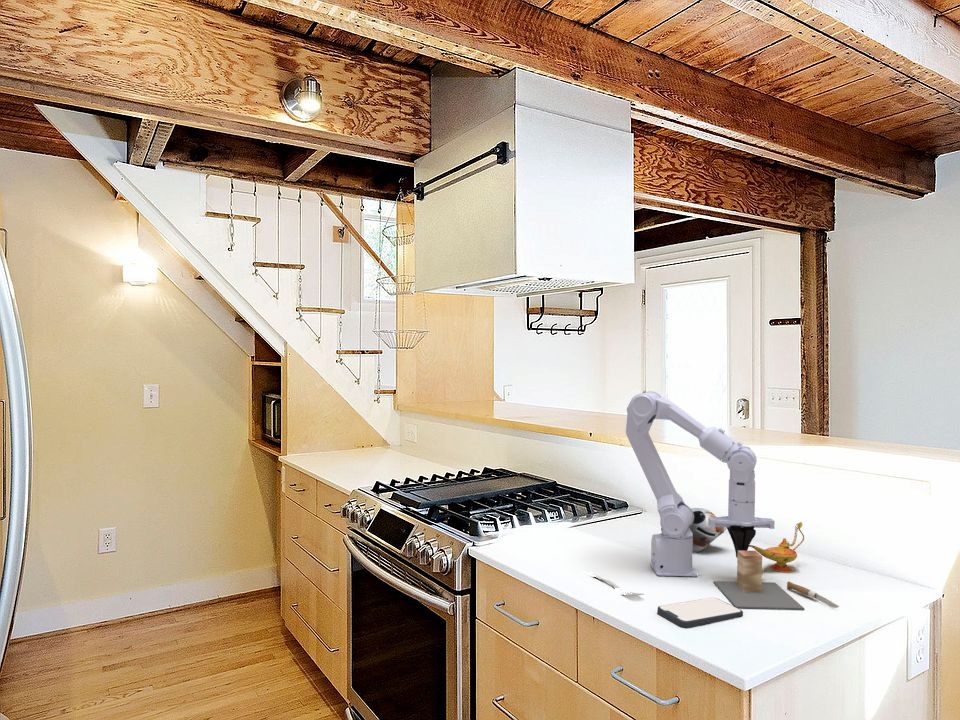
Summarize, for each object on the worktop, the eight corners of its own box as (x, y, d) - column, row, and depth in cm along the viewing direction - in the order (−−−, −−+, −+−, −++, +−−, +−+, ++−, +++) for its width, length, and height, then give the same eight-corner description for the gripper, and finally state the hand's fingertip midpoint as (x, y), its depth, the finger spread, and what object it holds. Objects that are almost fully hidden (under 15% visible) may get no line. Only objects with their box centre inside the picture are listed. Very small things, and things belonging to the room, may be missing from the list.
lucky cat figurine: (704, 538, 189) (726, 500, 184) (715, 568, 178) (739, 528, 173) (655, 523, 188) (675, 485, 183) (662, 552, 177) (685, 512, 172)
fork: (580, 567, 165) (580, 560, 165) (645, 601, 144) (645, 593, 144) (569, 569, 164) (569, 561, 164) (633, 603, 142) (633, 595, 142)
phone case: (714, 603, 143) (654, 613, 137) (714, 596, 143) (654, 606, 137) (746, 619, 135) (683, 631, 129) (746, 611, 135) (684, 622, 129)
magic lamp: (737, 569, 164) (738, 524, 164) (792, 561, 171) (793, 518, 170) (758, 578, 157) (759, 532, 157) (814, 569, 164) (815, 524, 164)
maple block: (743, 591, 148) (743, 555, 147) (736, 585, 152) (737, 550, 151) (761, 592, 147) (762, 556, 147) (754, 585, 151) (755, 550, 151)
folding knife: (842, 611, 139) (842, 601, 139) (836, 612, 138) (837, 602, 138) (789, 589, 151) (790, 580, 151) (784, 589, 151) (784, 581, 151)
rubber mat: (735, 608, 139) (736, 606, 139) (713, 582, 154) (713, 581, 154) (804, 610, 139) (804, 608, 139) (774, 584, 154) (774, 582, 154)
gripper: (715, 503, 151) (714, 563, 151) (780, 504, 151) (779, 564, 151) (705, 496, 158) (704, 553, 158) (768, 497, 158) (766, 554, 158)
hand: (740, 558), depth 155 cm, fingers closed
